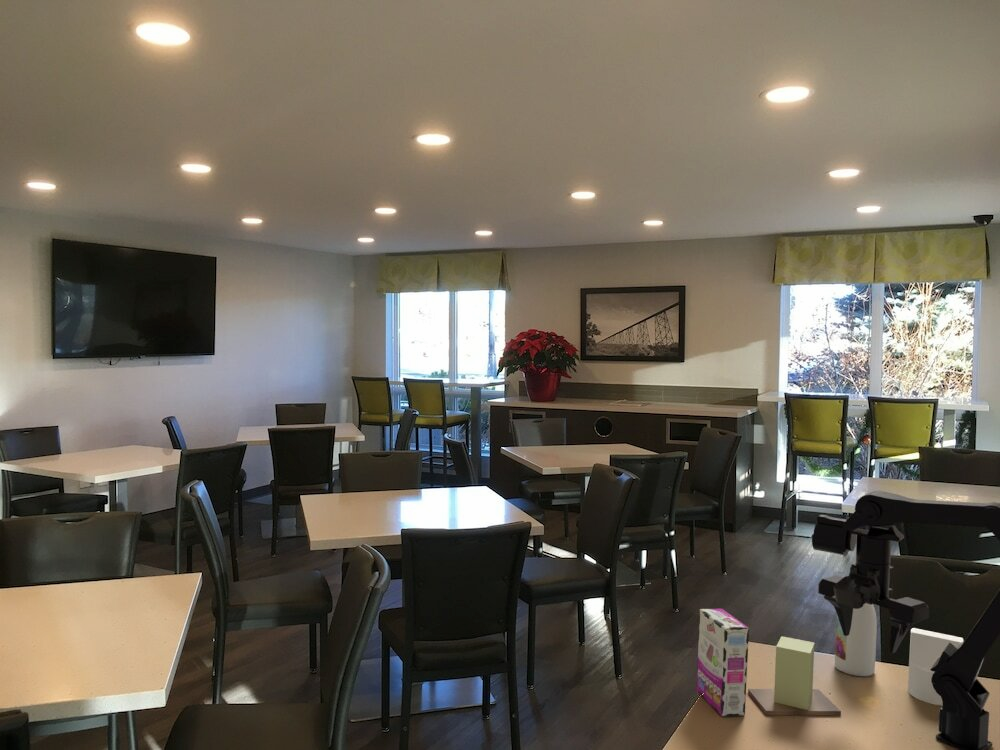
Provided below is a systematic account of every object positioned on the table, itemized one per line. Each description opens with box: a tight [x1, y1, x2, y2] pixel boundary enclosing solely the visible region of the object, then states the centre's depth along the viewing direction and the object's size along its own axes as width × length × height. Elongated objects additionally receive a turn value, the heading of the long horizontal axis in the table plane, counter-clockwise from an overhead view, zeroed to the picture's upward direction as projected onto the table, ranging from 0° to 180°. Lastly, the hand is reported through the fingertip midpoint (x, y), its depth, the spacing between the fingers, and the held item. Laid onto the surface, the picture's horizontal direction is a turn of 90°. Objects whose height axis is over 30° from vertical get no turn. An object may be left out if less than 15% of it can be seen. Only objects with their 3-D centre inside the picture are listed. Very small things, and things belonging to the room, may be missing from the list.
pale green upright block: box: [773, 636, 816, 710], centre depth 147 cm, size 6×6×11 cm
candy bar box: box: [696, 607, 750, 718], centre depth 146 cm, size 11×5×16 cm, turn 10°
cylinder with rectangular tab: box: [907, 627, 964, 706], centre depth 152 cm, size 9×9×12 cm
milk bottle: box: [834, 573, 878, 677], centre depth 163 cm, size 8×8×20 cm
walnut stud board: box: [747, 688, 842, 716], centre depth 147 cm, size 14×9×4 cm, turn 93°
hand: (868, 643), depth 144 cm, fingers open, 9 cm apart
